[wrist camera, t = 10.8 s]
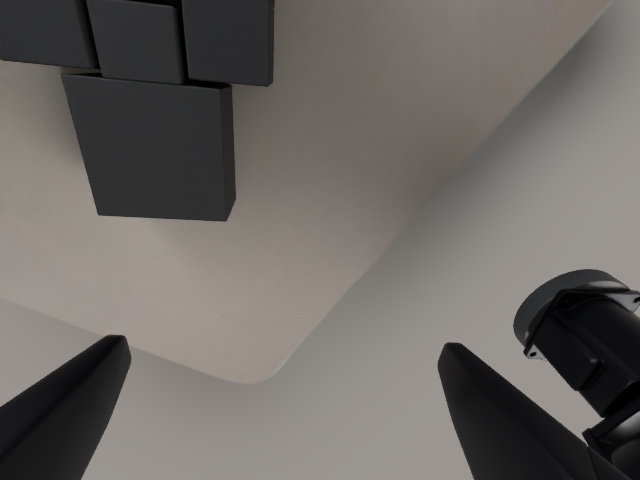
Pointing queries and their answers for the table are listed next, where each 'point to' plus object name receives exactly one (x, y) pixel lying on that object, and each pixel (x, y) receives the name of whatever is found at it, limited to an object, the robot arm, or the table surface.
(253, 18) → the dark gray pronged block
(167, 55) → the dark gray tabbed block
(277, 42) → the table surface
